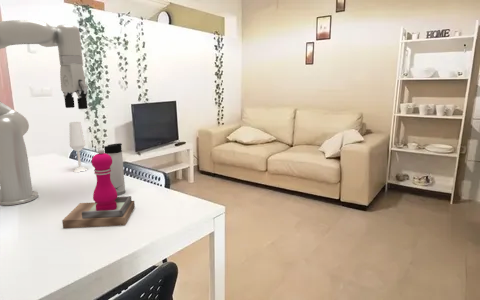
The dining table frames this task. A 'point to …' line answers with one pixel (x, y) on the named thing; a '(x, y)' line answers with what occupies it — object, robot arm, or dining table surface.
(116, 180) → the travel mug
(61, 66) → the robot arm
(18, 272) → the dining table surface
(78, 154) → the champagne flute
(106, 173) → the pepper mill
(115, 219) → the dock
